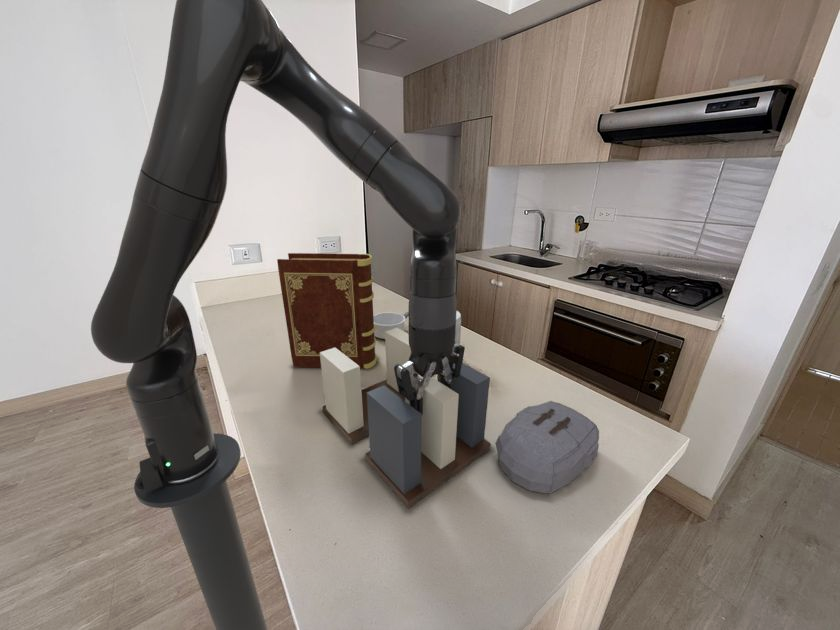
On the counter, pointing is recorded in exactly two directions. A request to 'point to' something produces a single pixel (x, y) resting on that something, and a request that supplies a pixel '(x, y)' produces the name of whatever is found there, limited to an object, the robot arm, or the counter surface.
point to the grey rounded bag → (547, 446)
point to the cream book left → (342, 389)
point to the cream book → (438, 422)
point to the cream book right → (396, 353)
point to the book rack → (429, 471)
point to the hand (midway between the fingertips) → (430, 406)
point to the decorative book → (328, 306)
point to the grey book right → (471, 404)
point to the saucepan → (388, 322)
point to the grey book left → (395, 437)
